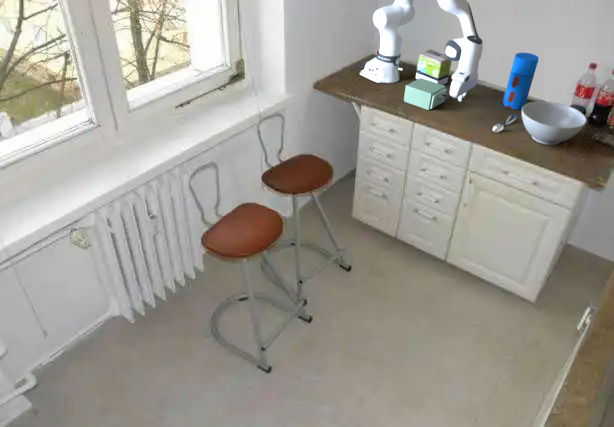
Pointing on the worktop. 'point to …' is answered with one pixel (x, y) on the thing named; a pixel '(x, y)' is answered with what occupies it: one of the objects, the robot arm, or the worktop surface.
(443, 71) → the tea box
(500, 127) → the silver spoon
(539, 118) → the decorative bowl
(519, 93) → the thermos
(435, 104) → the drawer
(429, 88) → the cabinet
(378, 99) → the worktop surface
